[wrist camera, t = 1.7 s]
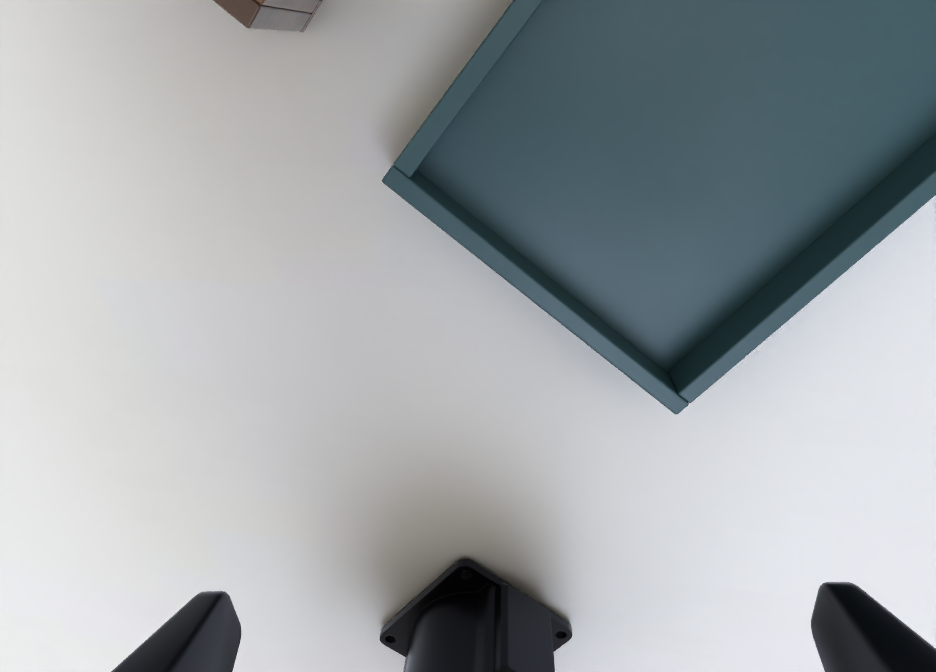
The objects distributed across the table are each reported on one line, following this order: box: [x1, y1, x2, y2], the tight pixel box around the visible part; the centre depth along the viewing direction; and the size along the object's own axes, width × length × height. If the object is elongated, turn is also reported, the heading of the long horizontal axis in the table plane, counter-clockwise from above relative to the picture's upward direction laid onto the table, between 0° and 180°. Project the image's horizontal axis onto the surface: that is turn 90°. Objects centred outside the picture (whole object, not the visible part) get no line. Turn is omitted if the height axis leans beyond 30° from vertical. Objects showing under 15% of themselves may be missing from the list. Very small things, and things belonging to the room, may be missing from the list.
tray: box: [382, 0, 936, 414], centre depth 16 cm, size 19×12×2 cm, turn 141°
